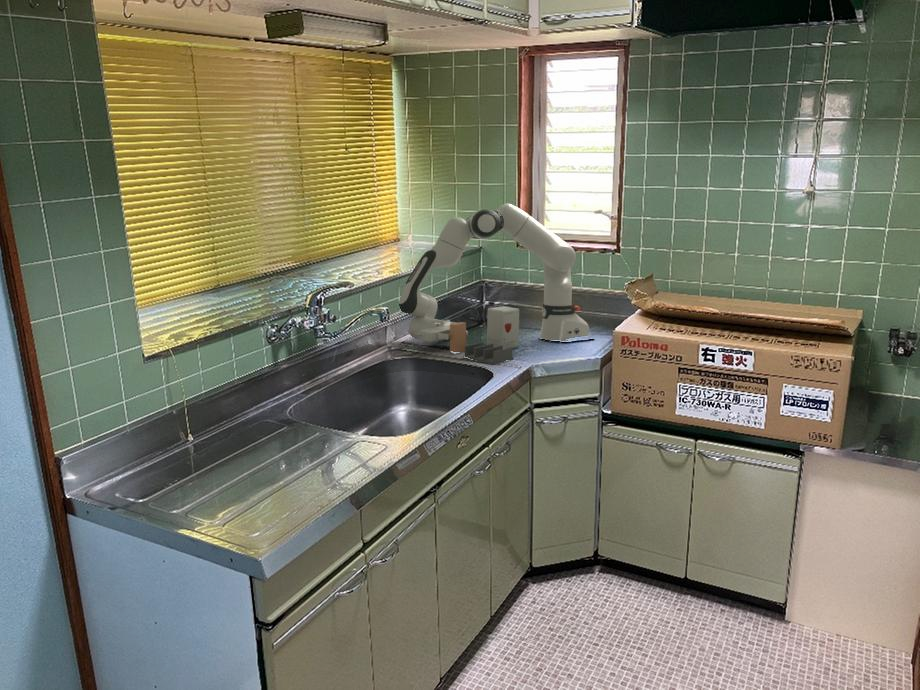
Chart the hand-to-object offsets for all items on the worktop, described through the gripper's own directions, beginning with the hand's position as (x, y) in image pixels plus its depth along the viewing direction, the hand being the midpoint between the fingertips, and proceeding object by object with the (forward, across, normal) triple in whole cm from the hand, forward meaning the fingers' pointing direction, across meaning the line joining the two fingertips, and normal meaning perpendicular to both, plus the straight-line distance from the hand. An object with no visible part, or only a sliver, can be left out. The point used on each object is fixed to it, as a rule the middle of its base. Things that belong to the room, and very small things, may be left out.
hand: (458, 335), depth 273 cm
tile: (0, 0, +6) cm, 7 cm away
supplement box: (+5, +19, +7) cm, 21 cm away
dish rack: (+15, 0, +6) cm, 16 cm away
